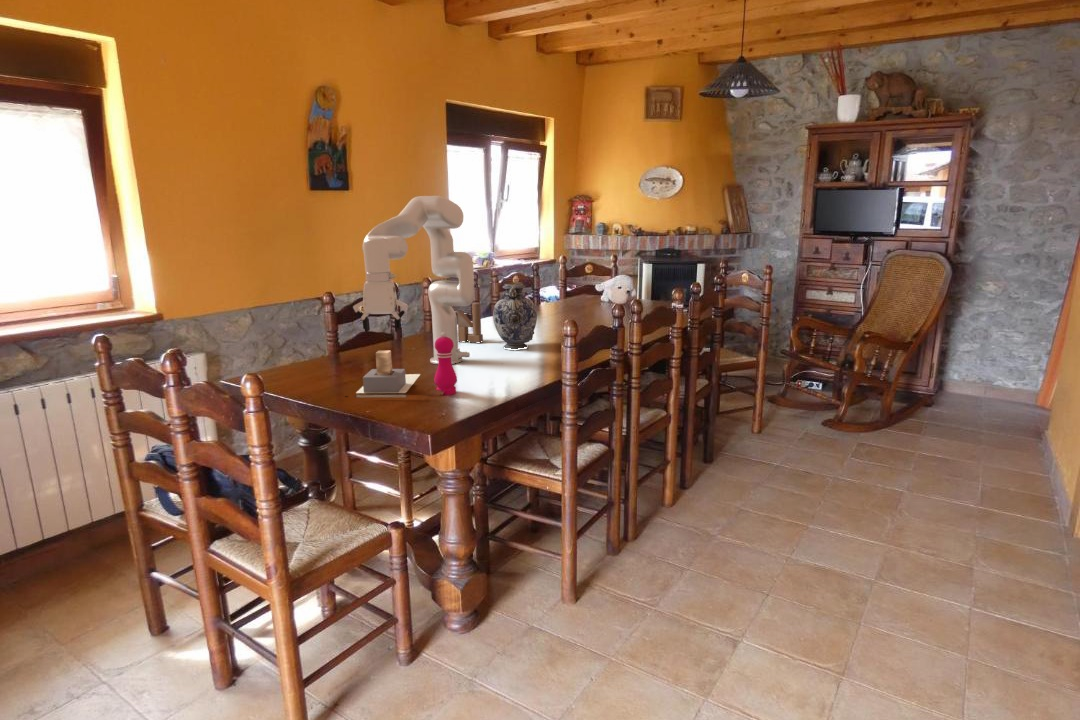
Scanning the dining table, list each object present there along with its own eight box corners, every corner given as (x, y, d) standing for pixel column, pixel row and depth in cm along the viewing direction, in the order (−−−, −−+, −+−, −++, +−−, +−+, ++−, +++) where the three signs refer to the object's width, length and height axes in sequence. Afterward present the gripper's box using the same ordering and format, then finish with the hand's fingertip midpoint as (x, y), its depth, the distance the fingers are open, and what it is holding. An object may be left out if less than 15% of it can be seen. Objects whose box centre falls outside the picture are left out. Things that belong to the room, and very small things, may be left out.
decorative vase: (536, 353, 266) (534, 285, 260) (491, 353, 267) (489, 286, 261) (538, 343, 287) (537, 280, 280) (497, 343, 287) (494, 280, 281)
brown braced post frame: (462, 340, 294) (460, 301, 290) (483, 342, 290) (482, 302, 286) (458, 342, 290) (456, 302, 286) (479, 343, 286) (478, 303, 282)
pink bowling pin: (442, 389, 213) (439, 329, 209) (461, 391, 211) (459, 330, 206) (430, 394, 207) (427, 333, 202) (450, 396, 204) (448, 334, 200)
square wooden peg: (393, 386, 212) (390, 350, 209) (390, 389, 208) (388, 353, 205) (380, 386, 212) (378, 350, 209) (378, 389, 208) (375, 353, 205)
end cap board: (420, 378, 228) (419, 360, 226) (406, 397, 204) (404, 377, 203) (375, 378, 228) (374, 360, 226) (355, 397, 204) (354, 377, 203)
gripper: (408, 276, 205) (411, 328, 210) (354, 276, 206) (358, 329, 210) (403, 278, 198) (406, 333, 202) (347, 279, 198) (352, 334, 203)
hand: (382, 331), depth 206 cm, fingers open, 9 cm apart
